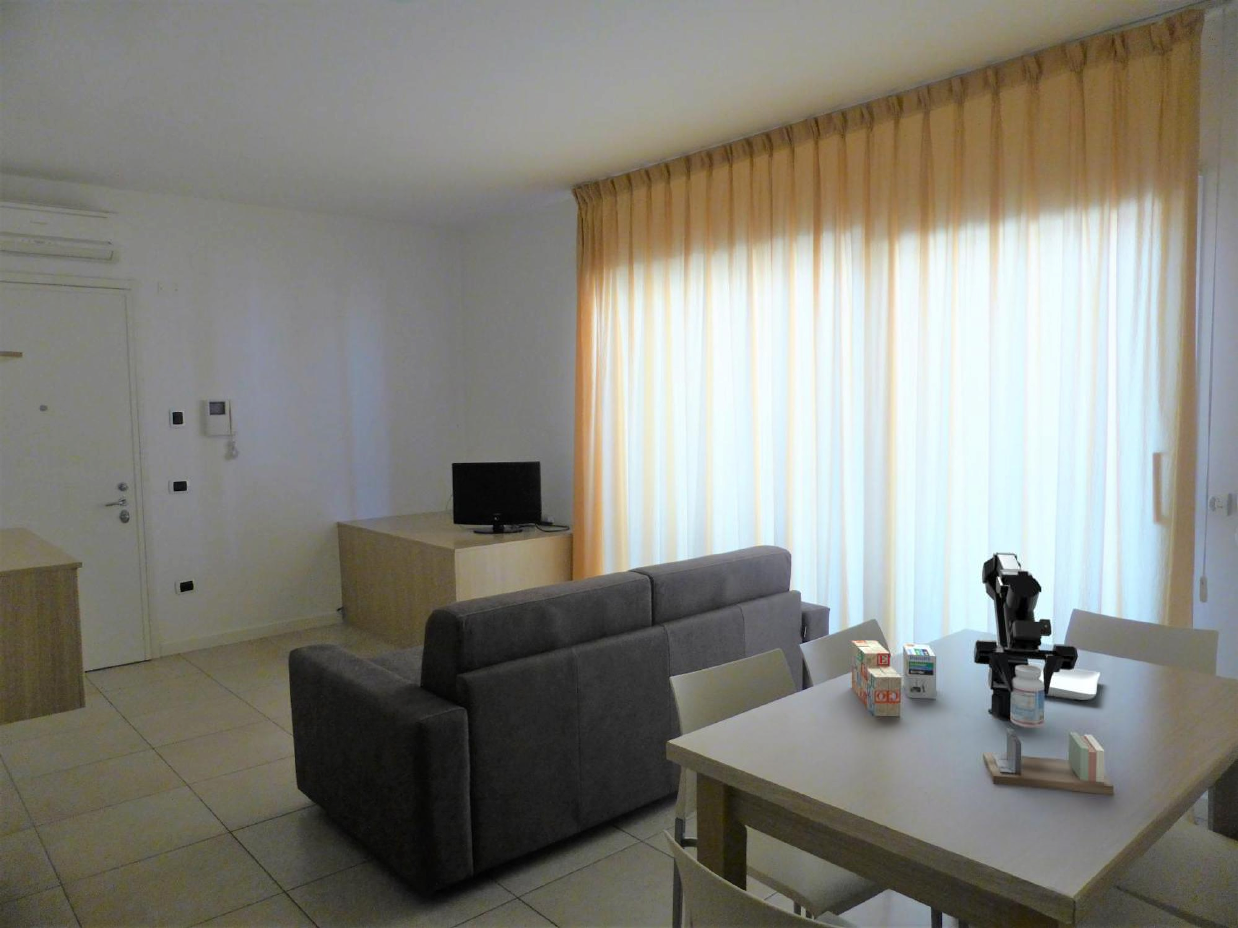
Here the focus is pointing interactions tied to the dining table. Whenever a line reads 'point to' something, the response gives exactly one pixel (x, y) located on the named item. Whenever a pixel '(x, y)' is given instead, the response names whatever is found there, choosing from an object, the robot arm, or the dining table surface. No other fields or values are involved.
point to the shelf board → (1045, 775)
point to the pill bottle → (1027, 697)
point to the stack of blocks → (875, 678)
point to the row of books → (1086, 757)
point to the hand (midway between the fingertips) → (1028, 692)
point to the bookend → (1010, 755)
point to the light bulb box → (919, 671)
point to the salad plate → (1071, 683)
